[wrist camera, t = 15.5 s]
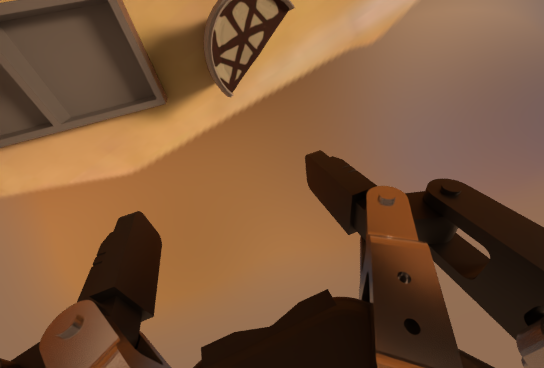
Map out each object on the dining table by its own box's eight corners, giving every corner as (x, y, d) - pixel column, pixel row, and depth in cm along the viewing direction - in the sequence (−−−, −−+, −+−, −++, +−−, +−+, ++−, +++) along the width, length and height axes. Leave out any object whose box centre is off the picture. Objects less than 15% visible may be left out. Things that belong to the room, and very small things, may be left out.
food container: (233, -31, 26) (254, -62, 18) (268, 12, 30) (298, 2, 22) (182, 56, 29) (181, 61, 21) (219, 86, 33) (230, 100, 25)
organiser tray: (-170, 40, 20) (-227, 40, 17) (117, -9, 24) (109, -16, 21) (-35, 151, 27) (-60, 163, 24) (167, 98, 31) (165, 103, 28)
